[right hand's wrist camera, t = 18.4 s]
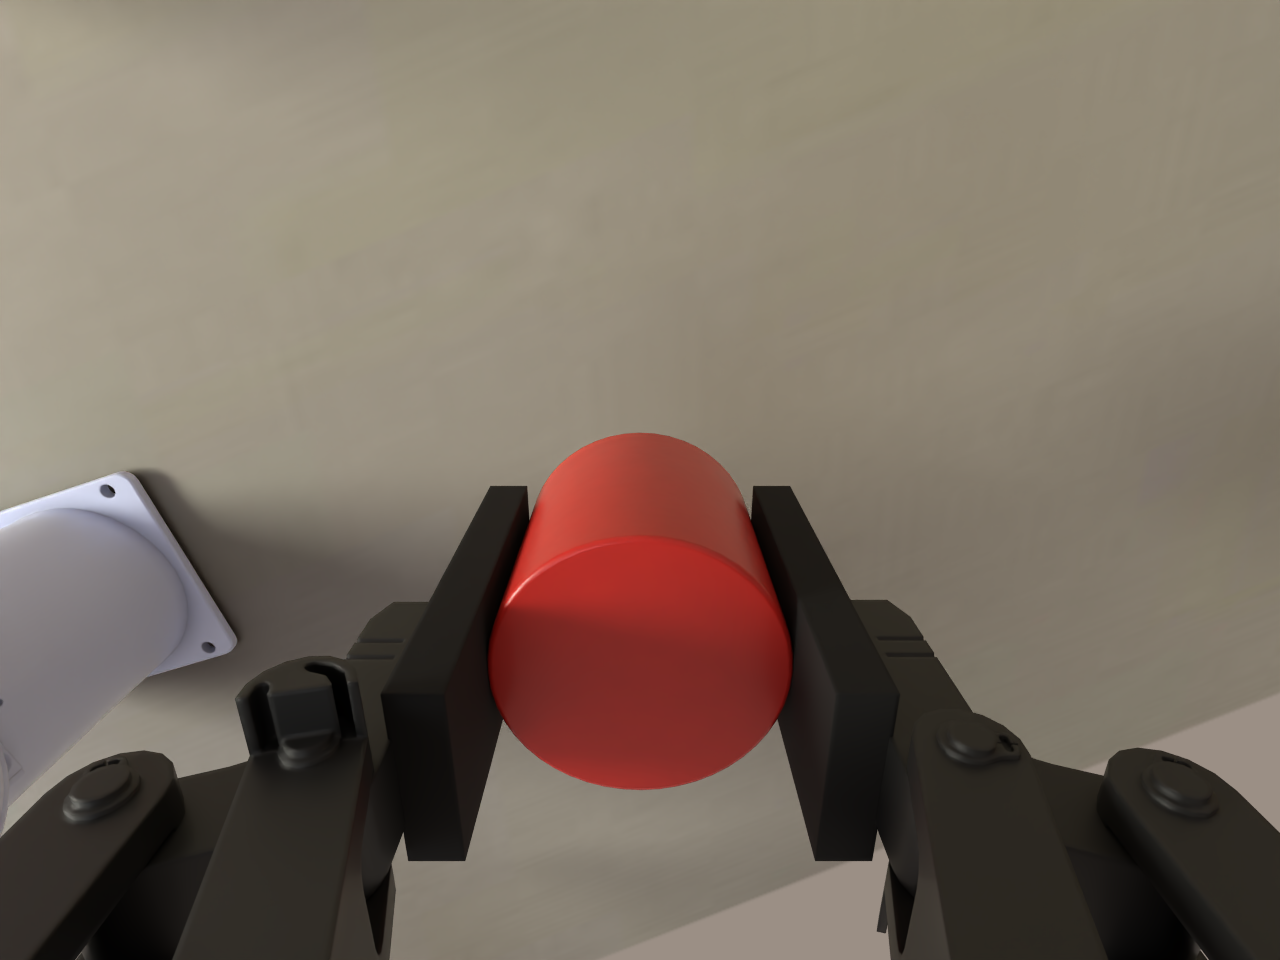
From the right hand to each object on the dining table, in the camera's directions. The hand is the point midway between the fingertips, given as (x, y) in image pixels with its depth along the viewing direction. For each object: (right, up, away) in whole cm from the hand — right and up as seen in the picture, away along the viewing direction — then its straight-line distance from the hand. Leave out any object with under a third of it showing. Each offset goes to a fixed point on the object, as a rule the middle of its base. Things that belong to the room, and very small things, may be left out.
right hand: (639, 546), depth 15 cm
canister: (0, 0, 0) cm, 0 cm away
